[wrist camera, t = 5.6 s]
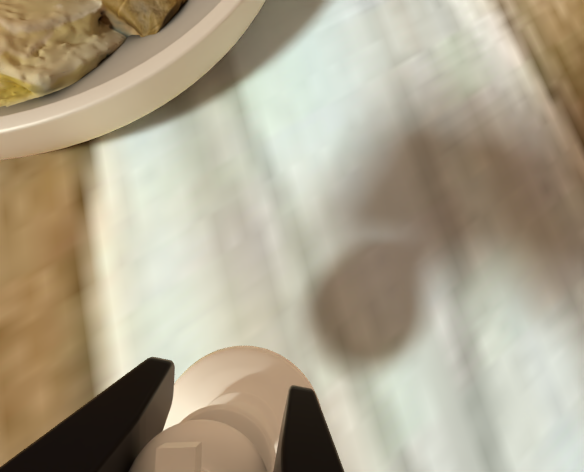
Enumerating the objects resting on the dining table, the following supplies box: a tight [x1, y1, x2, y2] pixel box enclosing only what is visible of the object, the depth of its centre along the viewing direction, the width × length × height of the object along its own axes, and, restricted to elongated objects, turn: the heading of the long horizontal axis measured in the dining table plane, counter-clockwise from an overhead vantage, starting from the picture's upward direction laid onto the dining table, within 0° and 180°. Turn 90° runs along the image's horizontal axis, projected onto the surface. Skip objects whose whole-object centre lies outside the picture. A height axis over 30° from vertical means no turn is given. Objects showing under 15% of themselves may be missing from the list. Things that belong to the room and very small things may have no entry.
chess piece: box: [129, 346, 320, 472], centre depth 9 cm, size 5×5×10 cm
